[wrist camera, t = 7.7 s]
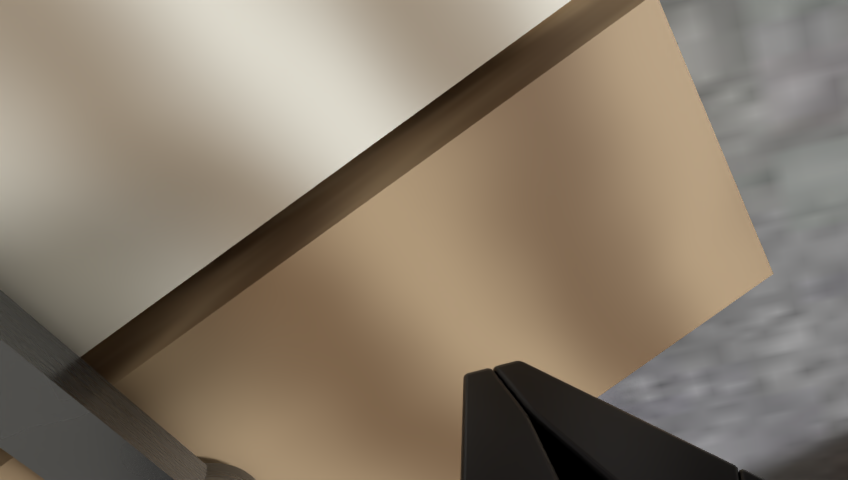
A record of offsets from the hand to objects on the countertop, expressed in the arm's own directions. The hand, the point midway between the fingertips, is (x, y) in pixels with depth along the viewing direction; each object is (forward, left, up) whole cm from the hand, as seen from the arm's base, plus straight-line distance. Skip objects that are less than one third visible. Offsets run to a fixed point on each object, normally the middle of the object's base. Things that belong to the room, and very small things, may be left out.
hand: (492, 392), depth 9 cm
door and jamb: (-3, +1, -12) cm, 12 cm away
